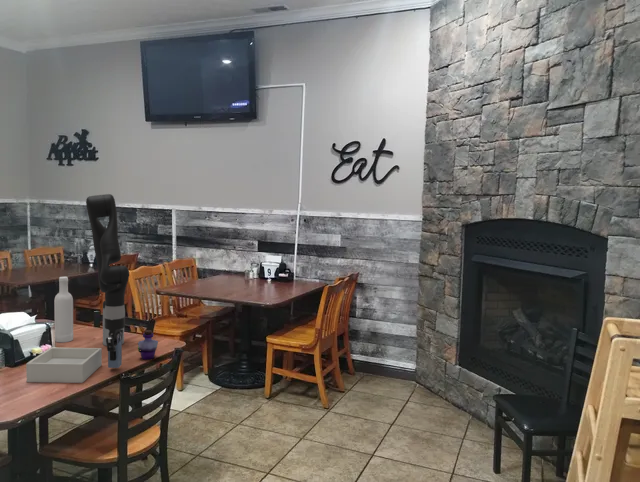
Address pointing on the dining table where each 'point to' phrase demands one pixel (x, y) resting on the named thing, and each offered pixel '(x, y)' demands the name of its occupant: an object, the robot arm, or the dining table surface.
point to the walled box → (64, 365)
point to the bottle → (63, 312)
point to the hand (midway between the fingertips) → (114, 358)
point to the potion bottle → (147, 346)
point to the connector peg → (118, 361)
